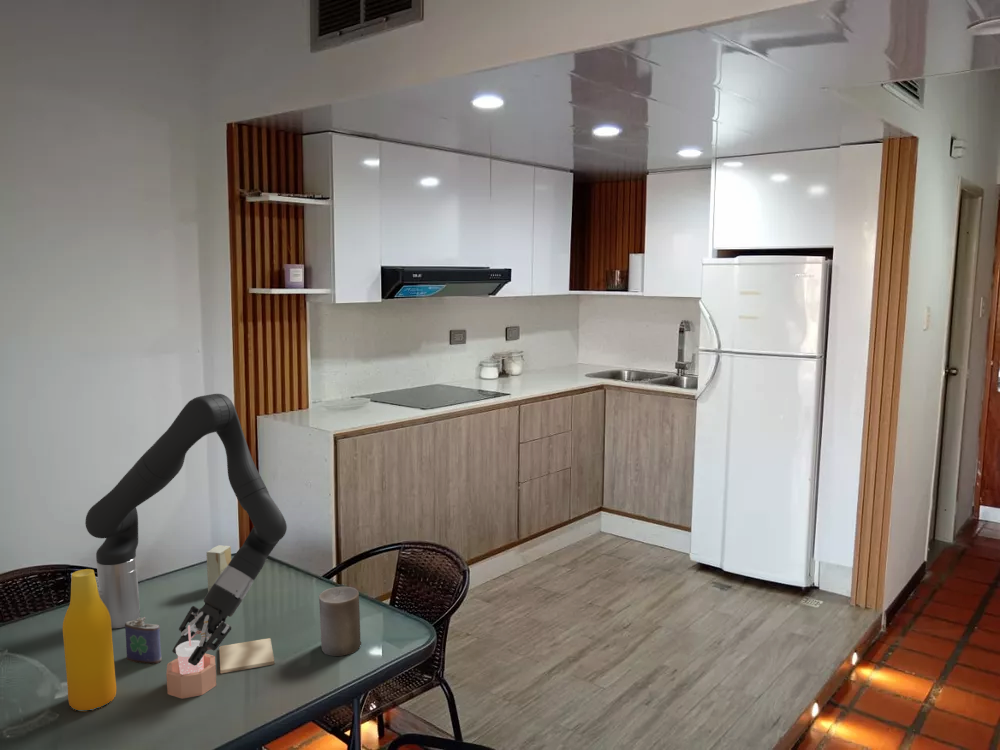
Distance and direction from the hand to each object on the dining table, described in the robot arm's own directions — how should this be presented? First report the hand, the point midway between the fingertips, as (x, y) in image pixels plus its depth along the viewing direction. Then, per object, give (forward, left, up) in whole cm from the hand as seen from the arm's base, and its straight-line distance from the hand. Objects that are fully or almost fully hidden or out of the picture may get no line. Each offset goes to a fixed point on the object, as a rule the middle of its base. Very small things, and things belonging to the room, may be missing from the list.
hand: (183, 658), depth 172 cm
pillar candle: (+35, +7, -7) cm, 37 cm away
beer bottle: (-19, +2, -7) cm, 20 cm away
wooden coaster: (+13, +10, -7) cm, 18 cm away
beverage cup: (+1, +1, -7) cm, 7 cm away
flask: (-10, +17, -7) cm, 21 cm away
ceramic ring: (+1, +1, -7) cm, 7 cm away
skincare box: (+8, +53, -7) cm, 54 cm away
